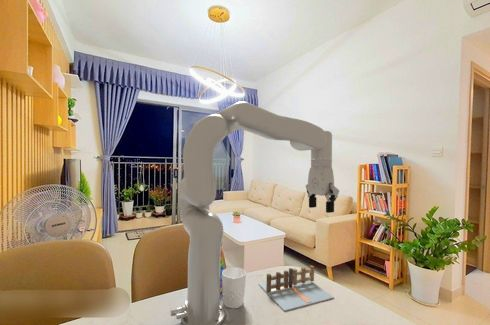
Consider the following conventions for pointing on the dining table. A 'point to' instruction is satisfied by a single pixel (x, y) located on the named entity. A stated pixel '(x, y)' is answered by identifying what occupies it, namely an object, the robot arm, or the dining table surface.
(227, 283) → the white cup
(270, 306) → the dining table surface
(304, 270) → the fence fold
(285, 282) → the fence fixed
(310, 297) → the card
